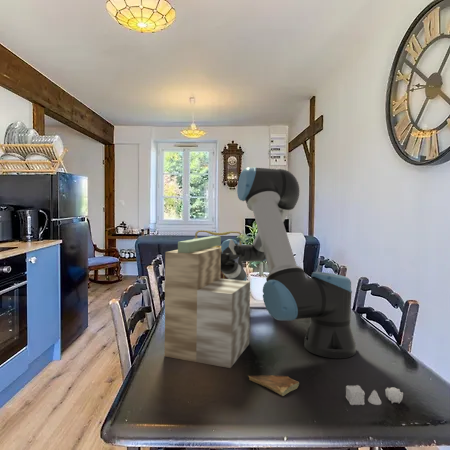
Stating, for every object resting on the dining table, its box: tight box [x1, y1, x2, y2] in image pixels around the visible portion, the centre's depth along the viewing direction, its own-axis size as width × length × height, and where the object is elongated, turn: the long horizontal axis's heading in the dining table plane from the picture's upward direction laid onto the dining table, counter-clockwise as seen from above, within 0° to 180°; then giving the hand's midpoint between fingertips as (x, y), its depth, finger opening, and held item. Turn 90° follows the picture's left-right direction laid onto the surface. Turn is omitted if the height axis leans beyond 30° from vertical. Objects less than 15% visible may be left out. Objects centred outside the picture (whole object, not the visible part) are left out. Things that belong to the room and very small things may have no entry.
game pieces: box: [345, 384, 404, 406], centre depth 77 cm, size 12×3×3 cm, turn 91°
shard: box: [247, 374, 300, 397], centre depth 85 cm, size 11×8×2 cm
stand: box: [164, 247, 251, 369], centre depth 103 cm, size 18×20×30 cm
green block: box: [177, 235, 222, 253], centre depth 109 cm, size 26×3×3 cm, turn 160°
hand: (211, 242), depth 118 cm, fingers open, 13 cm apart
